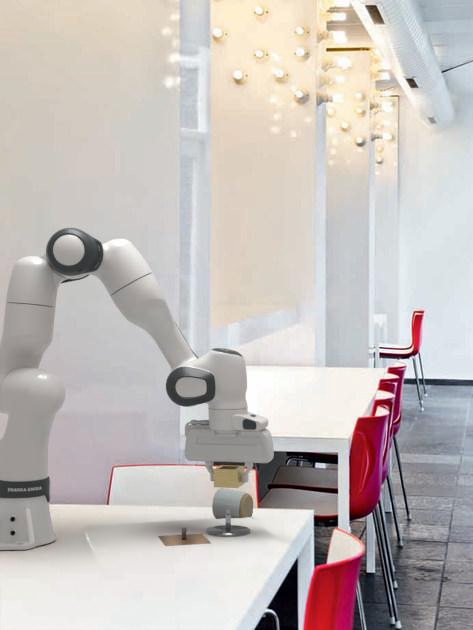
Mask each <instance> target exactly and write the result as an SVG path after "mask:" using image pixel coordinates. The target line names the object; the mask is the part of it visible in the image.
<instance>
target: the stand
mask: <svg viewBox="0 0 473 630" xmlns="http://www.w3.org/2000/svg"><path fill="white" fill-rule="evenodd" d="M157 537H158V539H160V541H161V542H162V543H163V545H164V547H169V546H171V547H173V546H189V545H191V546H192V545H204V544H205V545H206V544H207V545H208V544H210V545H211V544H212V542H211V541H210V540H209V539H208V538H207V537H206V536H205V534H203V533H187V527H181V534H169V535H167V534H166V535H157Z"/></svg>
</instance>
